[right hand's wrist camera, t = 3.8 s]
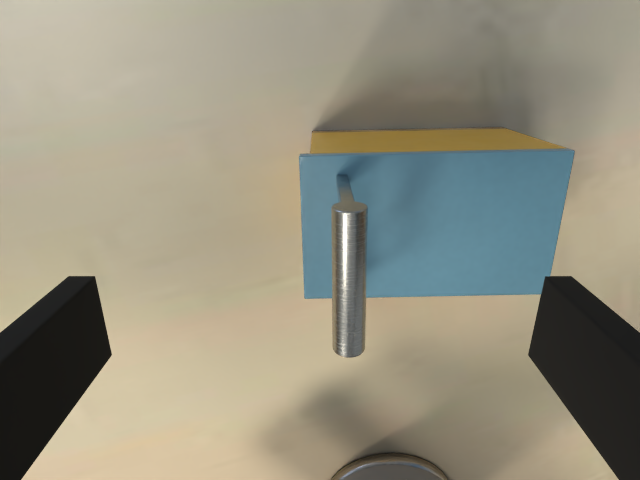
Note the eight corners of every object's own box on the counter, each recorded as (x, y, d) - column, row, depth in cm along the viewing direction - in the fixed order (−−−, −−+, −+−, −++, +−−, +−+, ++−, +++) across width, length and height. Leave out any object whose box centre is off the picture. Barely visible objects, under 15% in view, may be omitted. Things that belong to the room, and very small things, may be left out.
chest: (314, 239, 39) (313, 292, 30) (312, 130, 35) (309, 153, 26) (488, 236, 39) (541, 288, 30) (502, 127, 35) (567, 147, 26)
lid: (304, 293, 30) (299, 375, 22) (299, 153, 26) (291, 190, 18) (541, 288, 30) (622, 369, 22) (568, 148, 26) (676, 183, 18)
